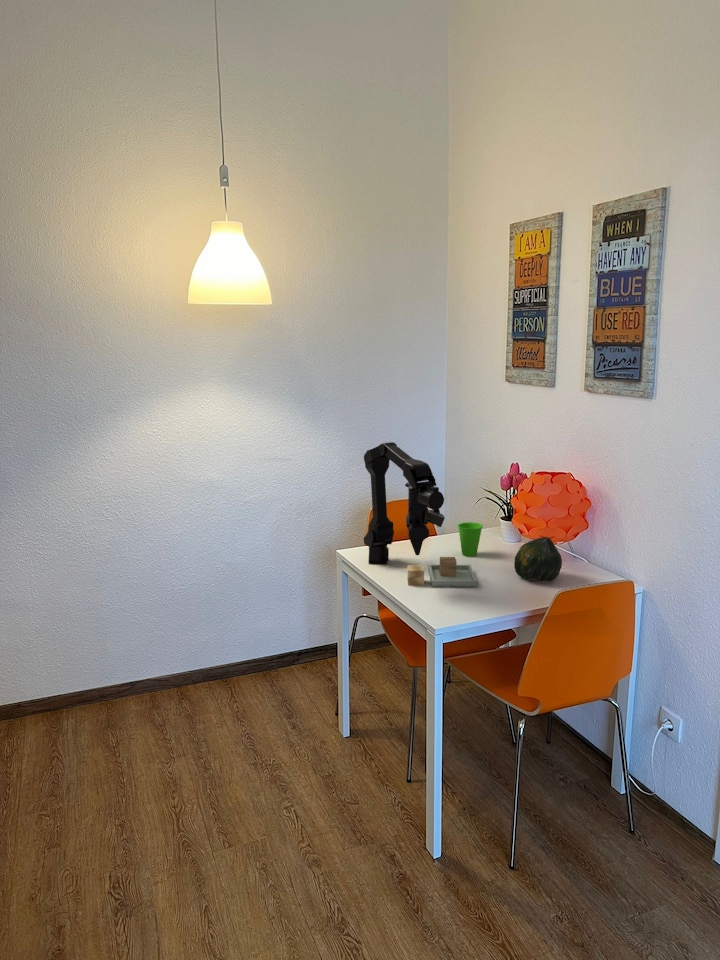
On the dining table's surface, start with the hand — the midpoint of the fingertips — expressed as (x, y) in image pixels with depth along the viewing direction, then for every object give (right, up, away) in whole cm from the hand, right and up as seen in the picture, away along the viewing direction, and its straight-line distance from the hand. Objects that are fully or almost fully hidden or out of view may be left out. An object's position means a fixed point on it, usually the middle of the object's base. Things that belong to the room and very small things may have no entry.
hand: (416, 550), depth 221 cm
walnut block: (+11, -8, +9) cm, 16 cm away
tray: (+12, -10, +6) cm, 16 cm away
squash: (+40, -10, +6) cm, 42 cm away
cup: (+21, -5, +30) cm, 37 cm away
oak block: (0, -11, +2) cm, 11 cm away
